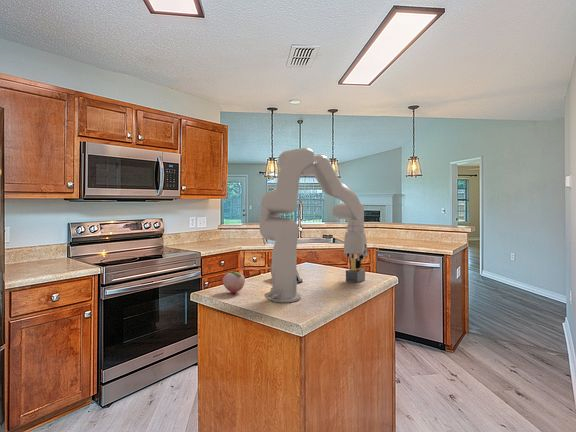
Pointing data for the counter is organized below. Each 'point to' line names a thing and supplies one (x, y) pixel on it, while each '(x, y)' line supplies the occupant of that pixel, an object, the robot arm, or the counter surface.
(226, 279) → the decorative fruit
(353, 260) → the tan rectangular block
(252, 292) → the counter surface
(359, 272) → the dark grey open box
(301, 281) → the hinge
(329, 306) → the counter surface
